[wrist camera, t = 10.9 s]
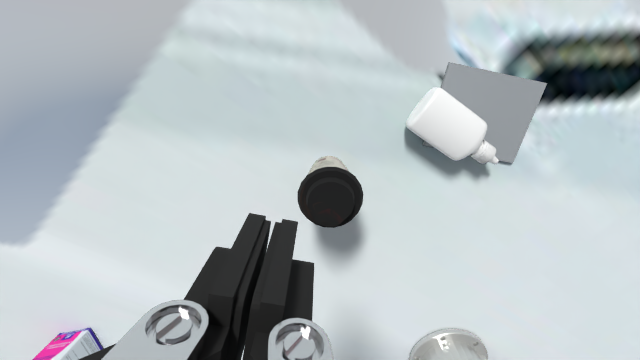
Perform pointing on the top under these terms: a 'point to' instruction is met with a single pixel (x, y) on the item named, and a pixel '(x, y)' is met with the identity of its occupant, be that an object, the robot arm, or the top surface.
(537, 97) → the mat
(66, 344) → the supplement box
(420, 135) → the eye dropper bottle
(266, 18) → the top surface
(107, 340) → the top surface
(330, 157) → the coffee cup
